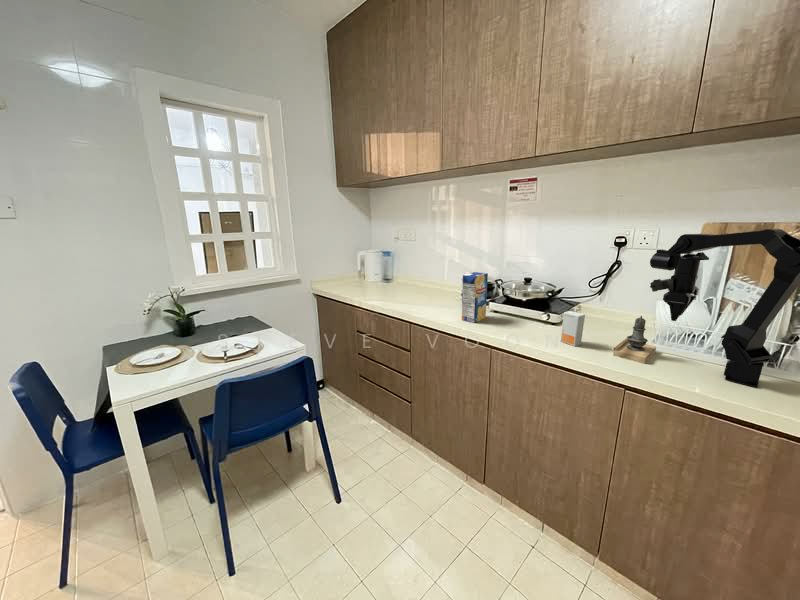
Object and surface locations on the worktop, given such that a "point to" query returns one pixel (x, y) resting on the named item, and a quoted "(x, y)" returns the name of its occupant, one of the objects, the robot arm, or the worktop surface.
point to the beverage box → (474, 296)
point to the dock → (634, 352)
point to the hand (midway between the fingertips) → (676, 317)
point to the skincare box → (572, 328)
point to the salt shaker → (637, 336)
